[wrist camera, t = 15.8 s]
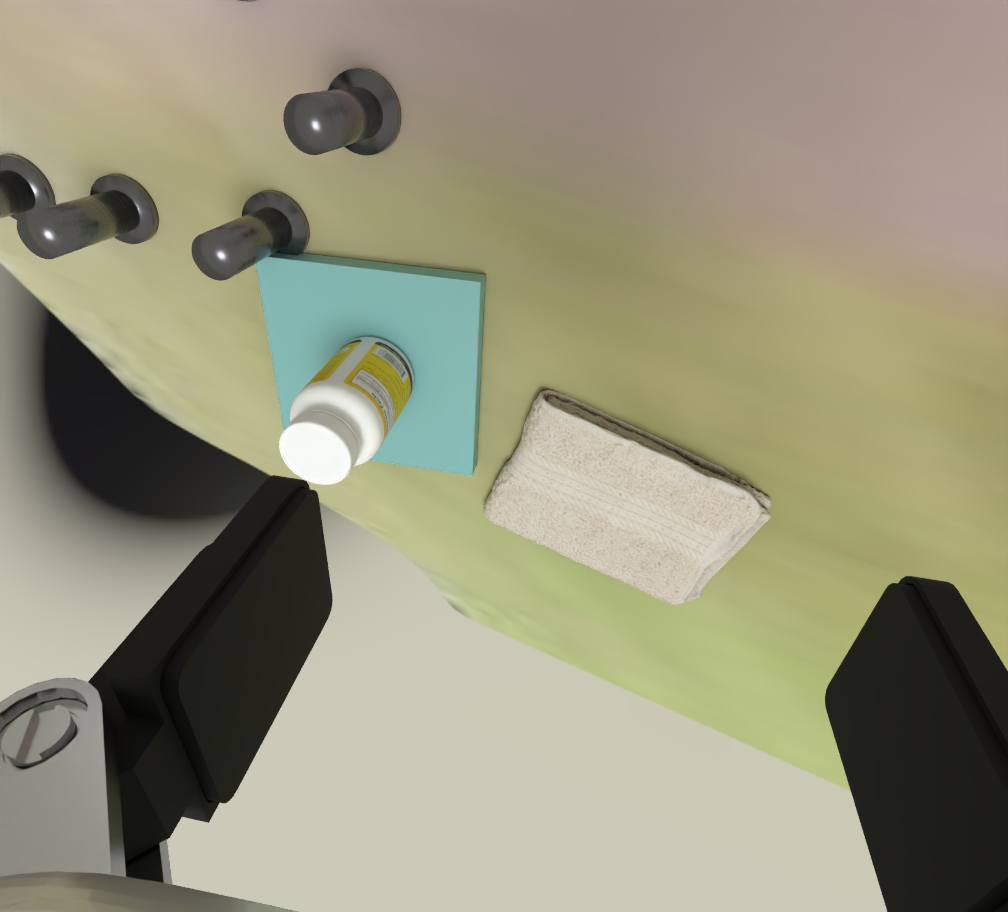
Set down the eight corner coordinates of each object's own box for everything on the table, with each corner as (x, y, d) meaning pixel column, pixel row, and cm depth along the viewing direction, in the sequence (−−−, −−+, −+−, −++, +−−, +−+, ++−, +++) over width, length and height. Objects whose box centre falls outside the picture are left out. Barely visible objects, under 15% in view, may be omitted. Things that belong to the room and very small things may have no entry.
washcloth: (686, 590, 48) (689, 620, 46) (480, 503, 47) (472, 529, 44) (779, 485, 42) (789, 513, 39) (542, 379, 40) (536, 401, 38)
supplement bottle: (338, 401, 41) (269, 485, 33) (335, 327, 38) (258, 399, 30) (415, 416, 41) (364, 504, 33) (418, 342, 38) (362, 419, 30)
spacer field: (-122, -124, 30) (-296, -165, 25) (394, -96, 28) (333, -136, 22) (11, 226, 40) (-92, 255, 34) (405, 273, 37) (365, 313, 31)
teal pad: (266, 248, 38) (254, 255, 37) (485, 274, 36) (480, 282, 35) (295, 436, 46) (286, 447, 45) (476, 464, 44) (472, 475, 43)
